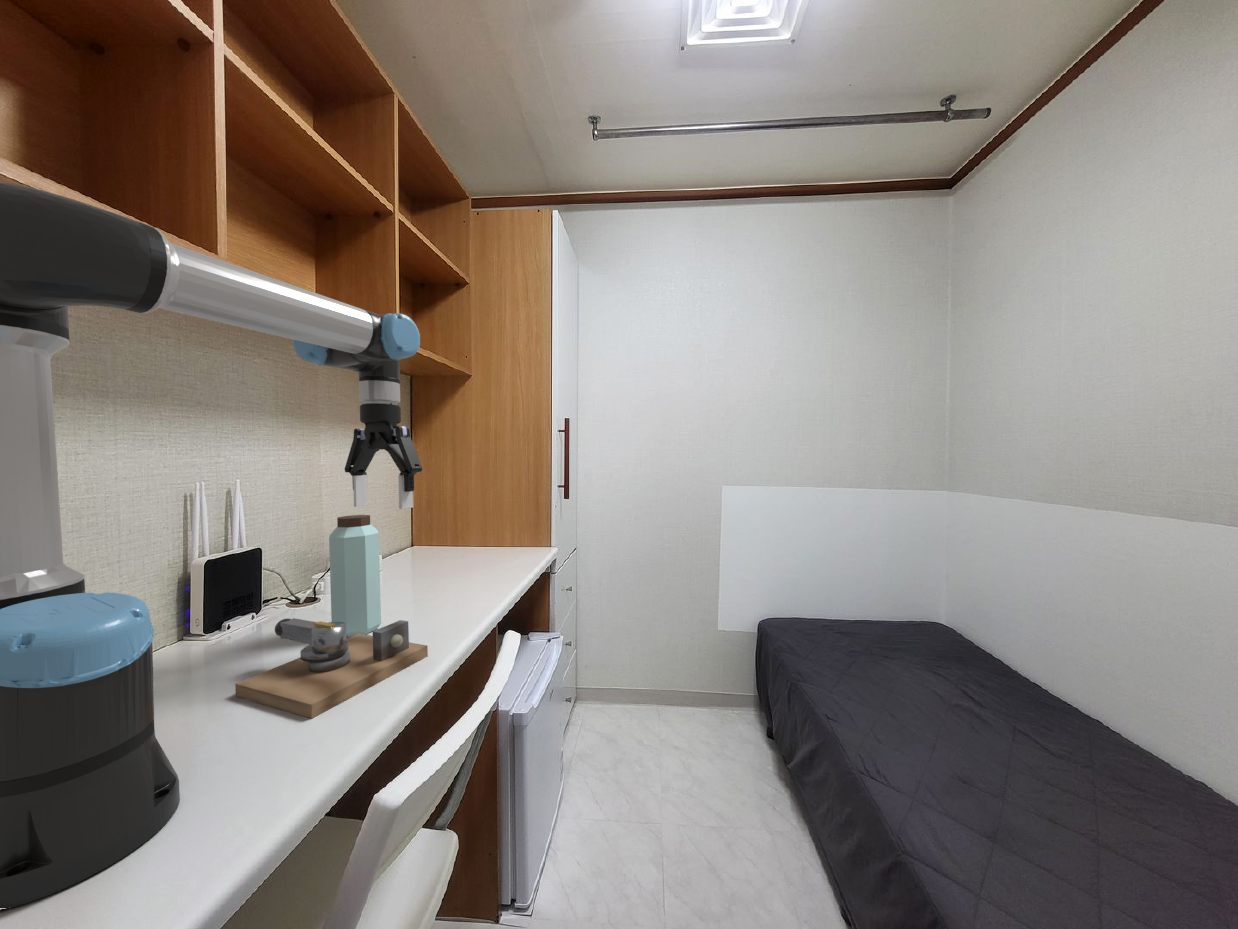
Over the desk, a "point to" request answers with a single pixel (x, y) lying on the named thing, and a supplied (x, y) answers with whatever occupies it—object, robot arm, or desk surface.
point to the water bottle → (355, 575)
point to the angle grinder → (315, 638)
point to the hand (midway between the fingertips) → (383, 507)
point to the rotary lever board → (334, 673)
